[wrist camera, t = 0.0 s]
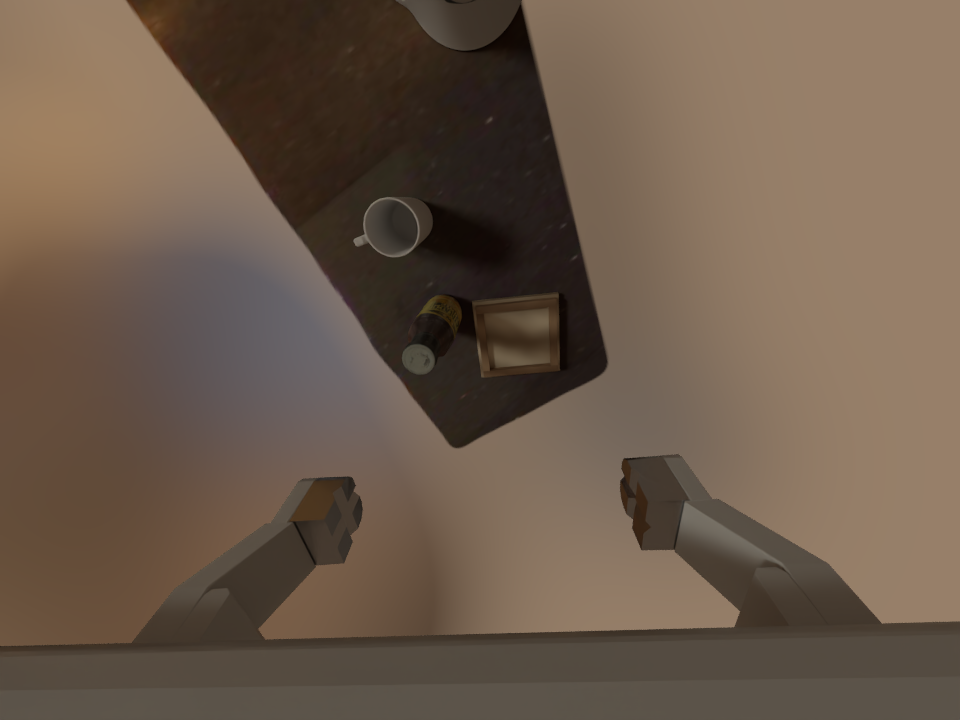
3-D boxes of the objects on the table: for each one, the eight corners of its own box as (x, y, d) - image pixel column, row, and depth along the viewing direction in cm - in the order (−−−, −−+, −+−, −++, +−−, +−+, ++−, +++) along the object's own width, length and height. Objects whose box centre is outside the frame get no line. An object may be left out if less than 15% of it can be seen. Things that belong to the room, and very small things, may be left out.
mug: (424, 188, 50) (405, 188, 39) (441, 234, 53) (428, 246, 42) (363, 213, 52) (329, 219, 41) (383, 256, 55) (356, 273, 44)
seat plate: (472, 300, 57) (471, 304, 56) (557, 292, 56) (559, 295, 54) (481, 374, 64) (481, 380, 62) (558, 367, 62) (560, 373, 61)
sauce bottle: (470, 312, 58) (460, 366, 41) (443, 334, 60) (422, 395, 42) (443, 282, 56) (421, 326, 38) (416, 306, 58) (383, 358, 40)
